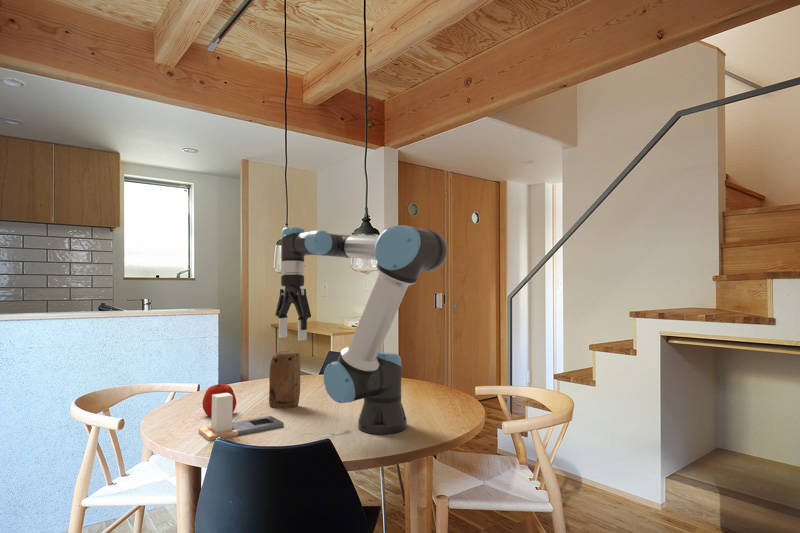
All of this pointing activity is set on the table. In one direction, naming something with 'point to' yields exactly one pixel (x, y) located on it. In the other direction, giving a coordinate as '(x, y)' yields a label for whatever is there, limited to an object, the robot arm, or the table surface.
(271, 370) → the block
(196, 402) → the table surface
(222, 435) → the grey slotted base plate
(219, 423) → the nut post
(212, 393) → the apple
